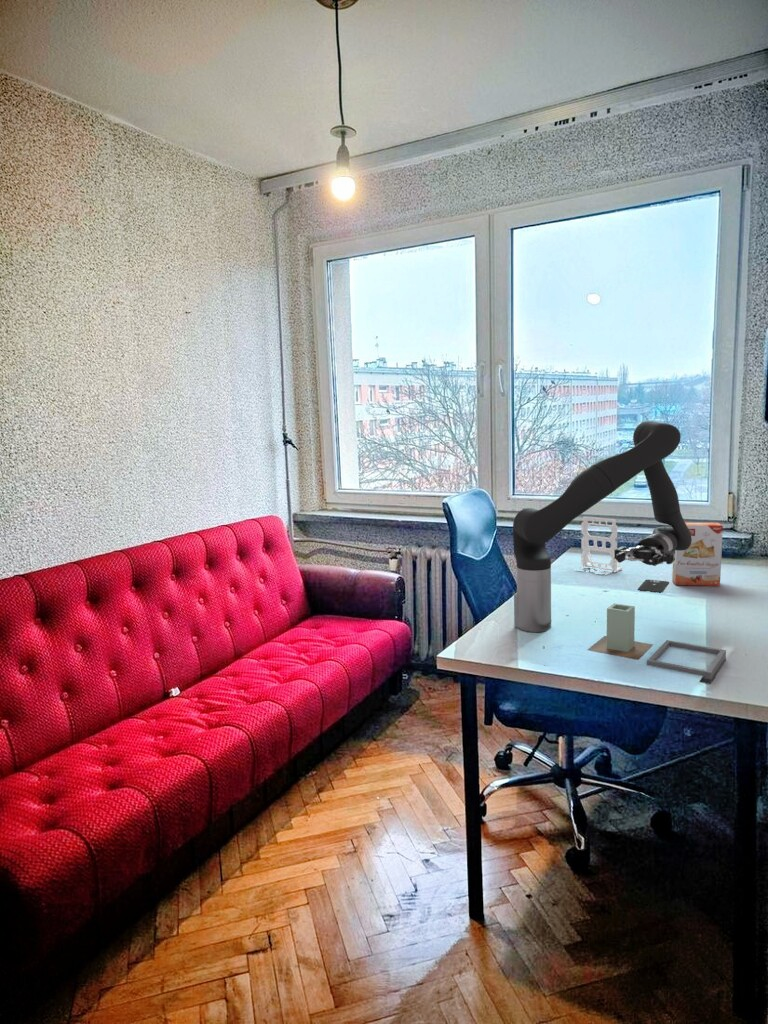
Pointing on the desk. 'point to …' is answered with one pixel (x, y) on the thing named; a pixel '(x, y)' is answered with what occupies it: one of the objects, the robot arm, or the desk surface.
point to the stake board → (634, 653)
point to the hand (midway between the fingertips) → (636, 560)
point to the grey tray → (707, 674)
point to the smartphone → (653, 586)
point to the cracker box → (700, 556)
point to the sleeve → (620, 627)
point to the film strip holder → (587, 548)
